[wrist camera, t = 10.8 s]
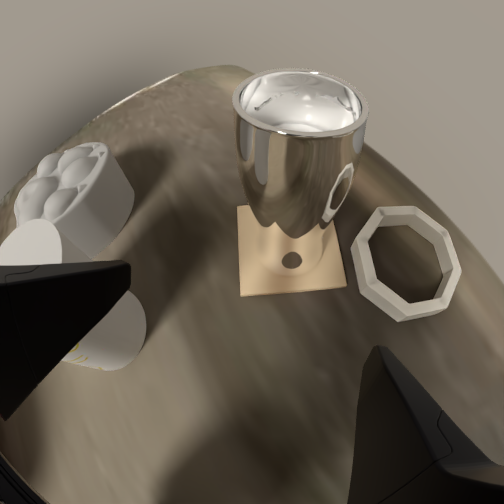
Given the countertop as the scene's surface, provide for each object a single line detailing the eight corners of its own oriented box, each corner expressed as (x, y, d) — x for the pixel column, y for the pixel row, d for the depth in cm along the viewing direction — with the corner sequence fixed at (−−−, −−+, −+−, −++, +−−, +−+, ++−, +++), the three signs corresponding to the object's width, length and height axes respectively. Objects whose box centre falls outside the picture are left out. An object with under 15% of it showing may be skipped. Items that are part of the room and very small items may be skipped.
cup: (66, 351, 22) (-27, 315, 11) (92, 278, 25) (15, 213, 14) (132, 383, 20) (32, 368, 10) (157, 298, 24) (83, 227, 13)
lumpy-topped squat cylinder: (43, 226, 29) (5, 187, 21) (118, 167, 32) (91, 117, 24) (60, 285, 25) (8, 248, 17) (150, 214, 28) (117, 157, 20)
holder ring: (365, 327, 21) (373, 322, 20) (343, 219, 26) (347, 208, 24) (458, 308, 21) (470, 302, 19) (429, 216, 26) (437, 205, 24)
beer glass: (266, 294, 23) (258, 157, 10) (239, 227, 26) (211, 80, 13) (340, 265, 24) (402, 126, 10) (307, 204, 27) (325, 61, 13)
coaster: (241, 296, 23) (240, 295, 23) (237, 208, 28) (237, 206, 27) (345, 287, 23) (346, 285, 23) (327, 202, 27) (327, 200, 27)
